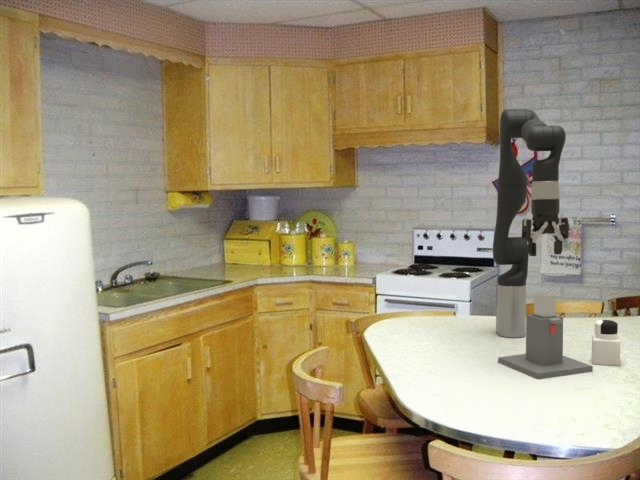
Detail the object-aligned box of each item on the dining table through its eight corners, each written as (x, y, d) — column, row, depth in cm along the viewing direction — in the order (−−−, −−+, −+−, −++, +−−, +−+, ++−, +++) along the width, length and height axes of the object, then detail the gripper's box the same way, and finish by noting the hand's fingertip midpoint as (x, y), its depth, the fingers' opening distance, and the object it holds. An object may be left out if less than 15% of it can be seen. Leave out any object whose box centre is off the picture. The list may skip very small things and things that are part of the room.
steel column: (533, 358, 193) (533, 294, 191) (545, 357, 194) (545, 293, 192) (542, 362, 189) (543, 296, 187) (554, 360, 190) (555, 295, 188)
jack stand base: (498, 362, 197) (498, 313, 196) (549, 355, 203) (549, 307, 202) (538, 379, 180) (538, 325, 179) (592, 371, 186) (593, 319, 185)
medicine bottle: (617, 359, 197) (618, 319, 196) (620, 366, 191) (620, 324, 190) (591, 358, 200) (592, 317, 199) (592, 364, 193) (593, 322, 192)
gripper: (557, 197, 196) (556, 252, 197) (515, 198, 191) (515, 255, 192) (575, 197, 189) (574, 255, 190) (532, 198, 184) (532, 257, 185)
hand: (545, 255), depth 191 cm, fingers open, 8 cm apart
